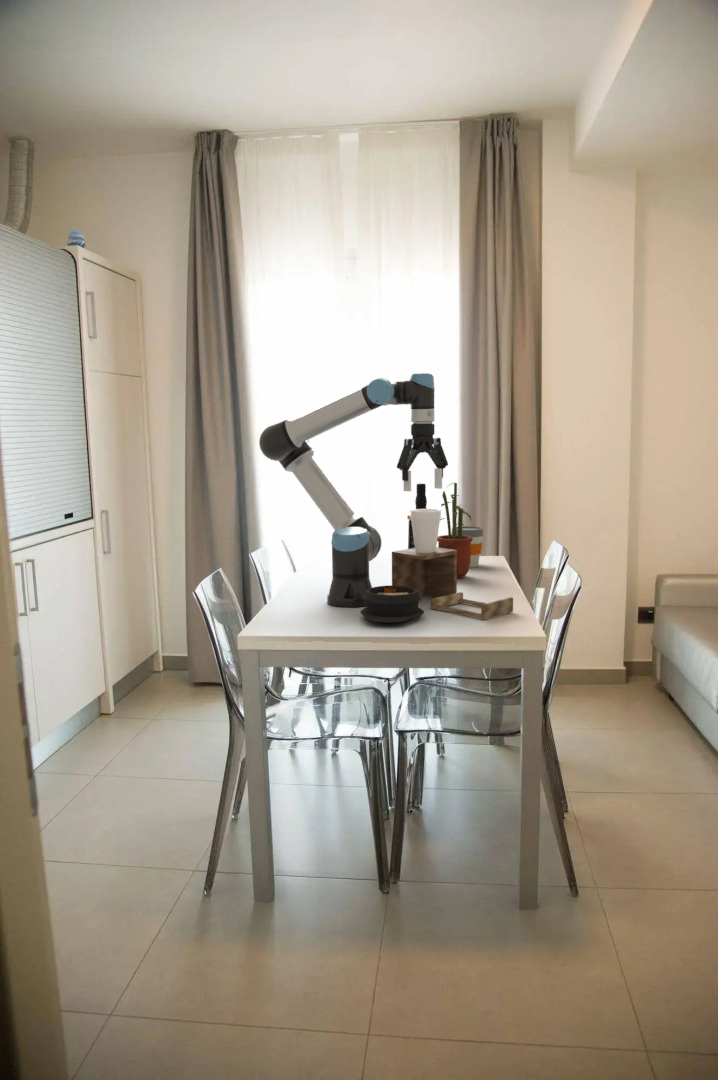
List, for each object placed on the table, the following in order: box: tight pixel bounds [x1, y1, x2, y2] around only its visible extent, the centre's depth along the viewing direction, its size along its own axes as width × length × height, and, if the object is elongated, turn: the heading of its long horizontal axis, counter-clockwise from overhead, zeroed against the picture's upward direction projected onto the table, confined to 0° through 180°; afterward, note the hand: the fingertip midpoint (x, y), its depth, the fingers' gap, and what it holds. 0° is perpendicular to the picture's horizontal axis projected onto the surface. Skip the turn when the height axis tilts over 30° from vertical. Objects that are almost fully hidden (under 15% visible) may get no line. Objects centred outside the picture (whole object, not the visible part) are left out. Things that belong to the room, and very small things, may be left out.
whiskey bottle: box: [407, 483, 428, 549], centre depth 332 cm, size 10×10×32 cm
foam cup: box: [409, 508, 442, 553], centre depth 255 cm, size 10×9×13 cm
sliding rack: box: [430, 591, 514, 620], centre depth 245 cm, size 14×20×4 cm
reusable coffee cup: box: [451, 525, 484, 569], centre depth 322 cm, size 12×12×15 cm
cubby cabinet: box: [391, 546, 458, 598], centre depth 258 cm, size 16×13×16 cm
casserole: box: [360, 585, 425, 624], centre depth 236 cm, size 25×19×8 cm
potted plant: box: [437, 482, 473, 580], centre depth 298 cm, size 17×16×35 cm
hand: (423, 489), depth 261 cm, fingers open, 13 cm apart
